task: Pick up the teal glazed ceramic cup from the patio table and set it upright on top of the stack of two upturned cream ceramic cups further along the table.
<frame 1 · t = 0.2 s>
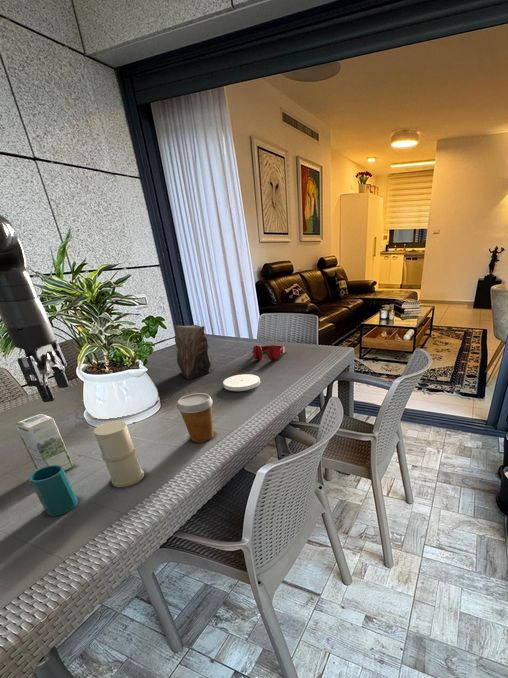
hand: (57, 394, 81), 20 cm above the table, tool pointing down, fingers open, 8 cm apart
brown stone chunk: (193, 374, 152), on the table
disposable coffee cup: (202, 437, 103), on the table
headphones: (269, 356, 172), on the table
cup stack: (128, 478, 85), on the table
plastic lid: (242, 387, 137), on the table
teal cup: (62, 506, 77), on the table
syrup box: (57, 470, 90), on the table
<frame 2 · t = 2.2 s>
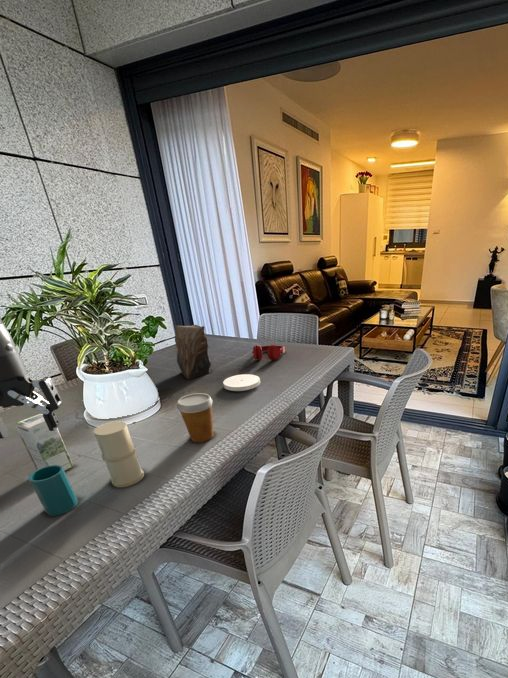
hand: (29, 432, 69), 18 cm above the table, tool pointing down, fingers open, 8 cm apart
nothing on the table moved.
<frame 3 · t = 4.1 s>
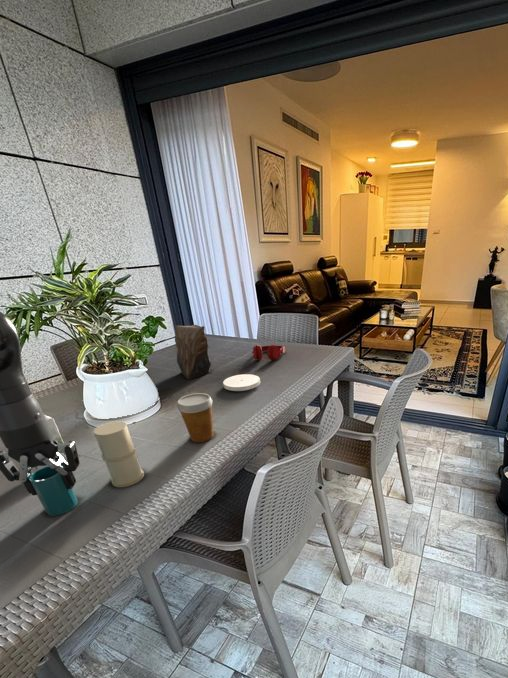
hand: (54, 489, 75), 5 cm above the table, tool pointing down, fingers closed on teal cup, 6 cm apart
teal cup: (62, 506, 77), on the table, touching gripper
everything else where it was.
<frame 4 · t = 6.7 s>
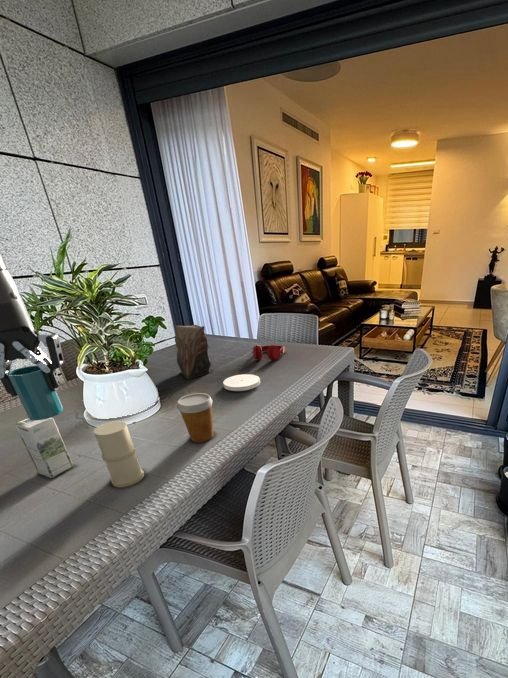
hand: (36, 392, 67), 26 cm above the table, tool pointing down, fingers closed on teal cup, 6 cm apart
teal cup: (46, 413, 69), point 21 cm above the table, touching gripper
everything else where it was.
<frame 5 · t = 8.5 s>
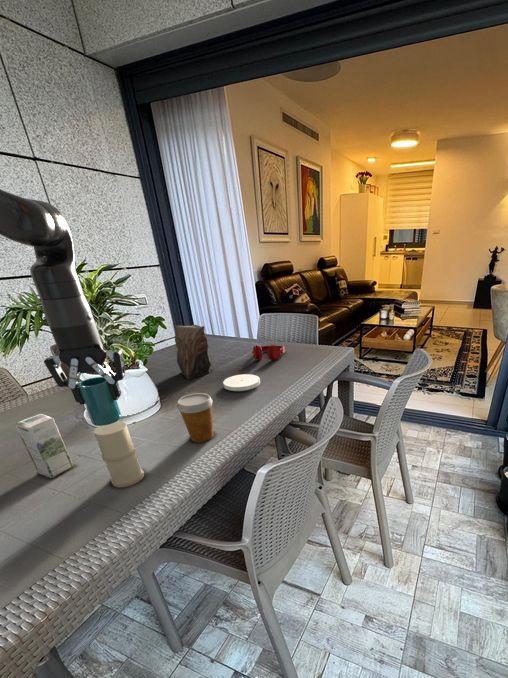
hand: (100, 400, 76), 21 cm above the table, tool pointing down, fingers closed on teal cup, 6 cm apart
teal cup: (107, 419, 78), point 16 cm above the table, touching gripper
everything else where it was.
when the fingers open (19 cm above the table, at t = 9.7 s): teal cup stays where it is, resting on cup stack.
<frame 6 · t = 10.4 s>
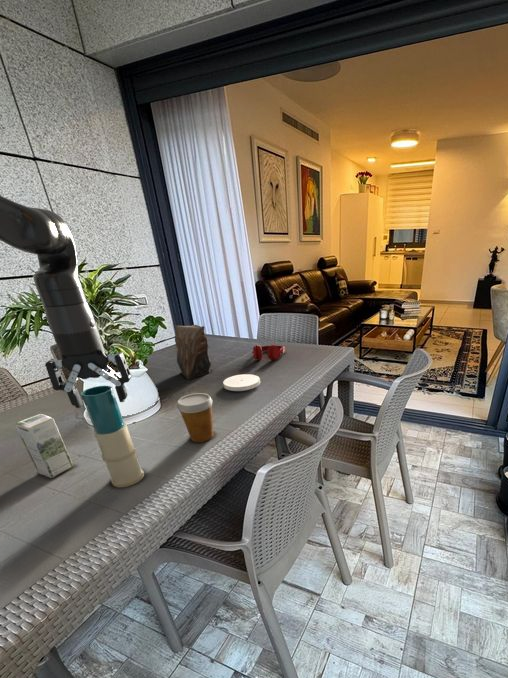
hand: (101, 403, 76), 20 cm above the table, tool pointing down, fingers open, 8 cm apart
teal cup: (110, 427, 79), point 14 cm above the table, touching cup stack
everything else where it was.
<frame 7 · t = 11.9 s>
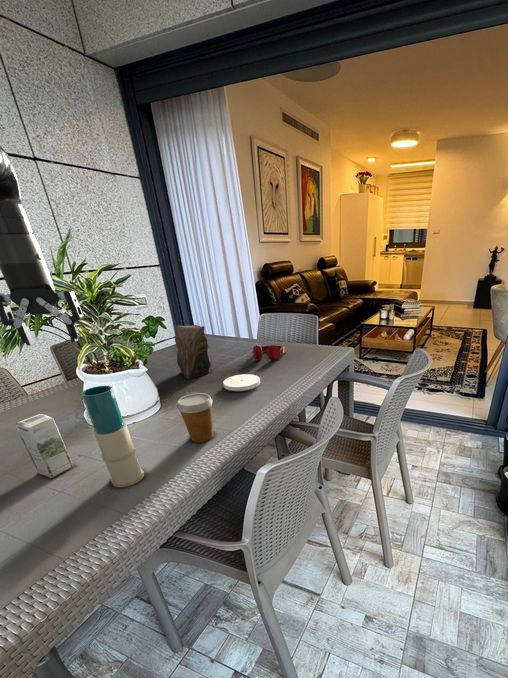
hand: (53, 342, 76), 32 cm above the table, tool pointing down, fingers open, 8 cm apart
nothing on the table moved.
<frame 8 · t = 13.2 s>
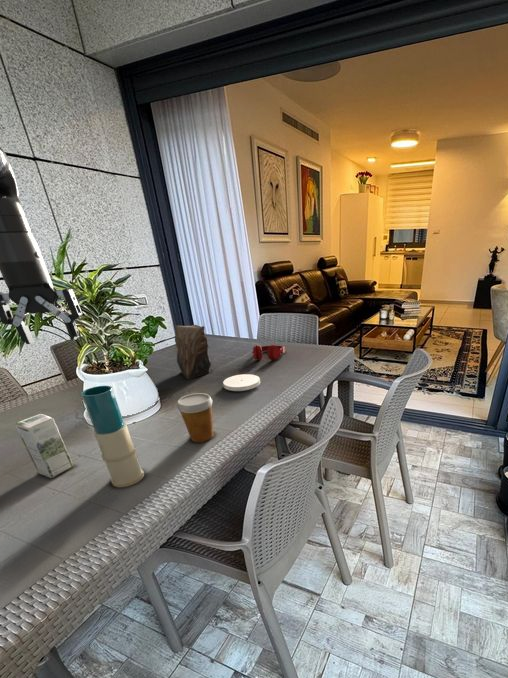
hand: (52, 341, 77), 32 cm above the table, tool pointing down, fingers open, 8 cm apart
nothing on the table moved.
at the end: teal cup 0.0 cm off-centre on the cup stack, point 14.0 cm above the cup stack's base; teal cup tilted 0°; the gripper is holding nothing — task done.
